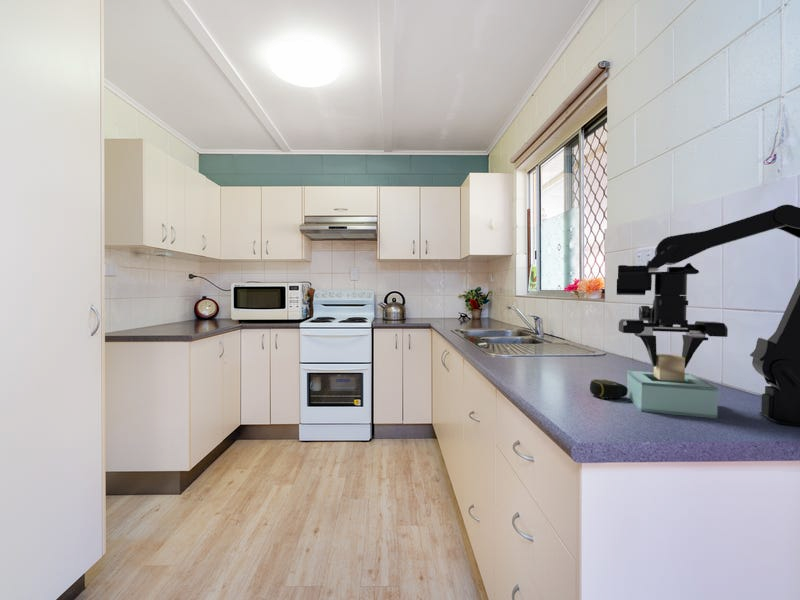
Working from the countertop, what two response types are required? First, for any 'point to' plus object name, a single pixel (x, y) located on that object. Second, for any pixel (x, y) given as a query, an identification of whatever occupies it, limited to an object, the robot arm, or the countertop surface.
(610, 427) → the countertop surface
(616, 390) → the tape measure
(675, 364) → the pine block
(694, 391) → the teal box
